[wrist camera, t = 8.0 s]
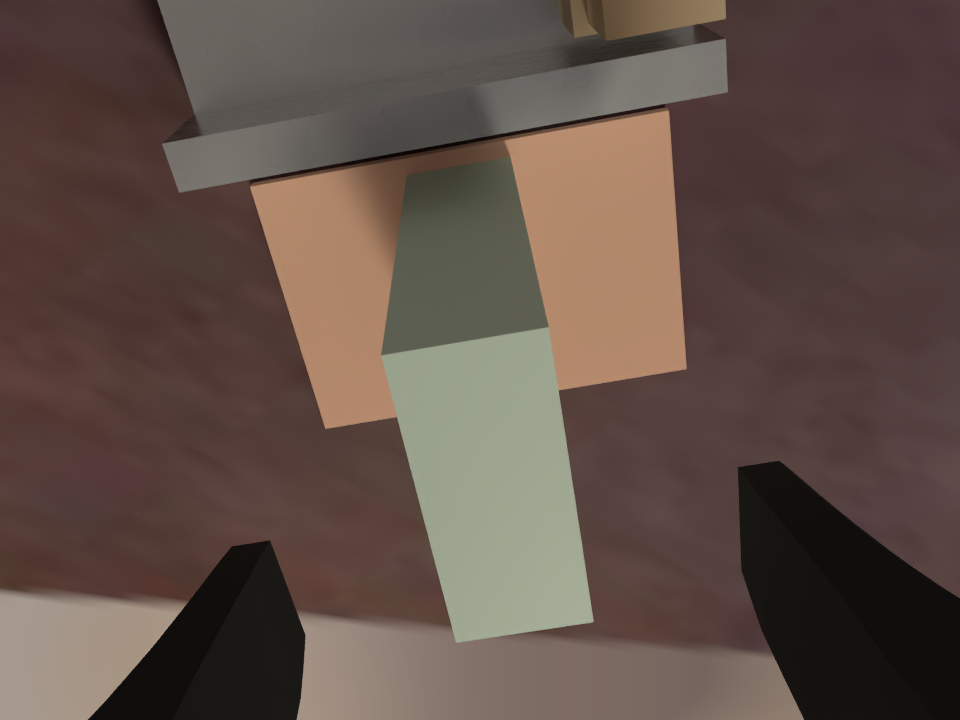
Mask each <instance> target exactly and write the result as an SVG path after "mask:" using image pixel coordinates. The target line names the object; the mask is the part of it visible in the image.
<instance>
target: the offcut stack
mask: <svg viewBox="0 0 960 720" xmlns="http://www.w3.org/2000/svg"><path fill="white" fill-rule="evenodd" d="M558 6H559V15H560V21H561V22H562V23H563V24H564V26H565V27H566V28H567V29H568V31H569V32H570V33H571V34H572V36H573V37H574V38H577V37H583V36H588V35H593V34H599V35H600V36H601V37H602V38H603V39H604V40H605V41H610V40H615V39H621V38H626V37H631V36H637V35H642V34H647V33H653V32H658V31H663V30H669V29H674V28H679V27H685V26H690V25H695V24H701V23H706V22H711V21H717V20H722V19H726V8H725V0H558Z"/></svg>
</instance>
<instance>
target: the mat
mask: <svg viewBox="0 0 960 720" xmlns="http://www.w3.org/2000/svg"><path fill="white" fill-rule="evenodd" d="M509 156H510V157H511V161H512V166H513V170H514V175H515V179H516V184H517V188H518V192H519V197H520V201H521V206H522V210H523V215H524V219H525V224H526V228H527V233H528V237H529V241H530V246H531V250H532V255H533V259H534V264H535V268H536V273H537V277H538V282H539V286H540V290H541V295H542V299H543V304H544V308H545V313H546V317H547V322H548V326H549V332H550V339H551V345H552V352H553V358H554V365H555V372H556V378H557V385H558V390H563V389H569V388H575V387H581V386H587V385H593V384H599V383H605V382H611V381H617V380H623V379H629V378H635V377H641V376H647V375H653V374H659V373H665V372H671V371H678V370H684V369H686V354H685V339H684V325H683V310H682V296H681V281H680V266H679V252H678V237H677V222H676V208H675V193H674V178H673V164H672V149H671V134H670V120H669V110H668V109H667V108H660V109H655V110H649V111H644V112H638V113H633V114H627V115H622V116H616V117H611V118H605V119H600V120H594V121H589V122H583V123H578V124H572V125H567V126H562V127H556V128H551V129H545V130H540V131H534V132H529V133H523V134H518V135H512V136H507V137H501V138H496V139H490V140H485V141H479V142H474V143H468V144H463V145H457V146H452V147H446V148H441V149H435V150H430V151H424V152H419V153H414V154H408V155H403V156H397V157H392V158H386V159H381V160H375V161H370V162H364V163H359V164H353V165H348V166H342V167H337V168H331V169H326V170H320V171H315V172H309V173H304V174H298V175H293V176H287V177H282V178H276V179H271V180H265V181H260V182H255V183H252V184H251V186H250V188H251V191H252V194H253V198H254V201H255V204H256V207H257V210H258V214H259V217H260V220H261V223H262V227H263V230H264V233H265V236H266V239H267V243H268V246H269V249H270V252H271V255H272V259H273V262H274V265H275V268H276V271H277V275H278V278H279V281H280V284H281V287H282V291H283V294H284V297H285V300H286V303H287V307H288V310H289V313H290V316H291V320H292V323H293V326H294V329H295V332H296V336H297V339H298V342H299V345H300V348H301V352H302V355H303V358H304V361H305V364H306V368H307V371H308V374H309V377H310V380H311V384H312V387H313V390H314V393H315V396H316V400H317V403H318V406H319V409H320V412H321V416H322V419H323V422H324V425H325V429H327V428H333V427H339V426H345V425H351V424H357V423H363V422H369V421H375V420H381V419H387V418H394V417H397V415H396V411H395V407H394V403H393V399H392V395H391V392H390V388H389V384H388V380H387V376H386V372H385V369H384V365H383V361H382V357H381V353H382V346H383V338H384V331H385V324H386V317H387V310H388V303H389V296H390V289H391V282H392V275H393V268H394V261H395V254H396V247H397V240H398V233H399V226H400V219H401V212H402V204H403V197H404V190H405V183H406V176H407V175H410V174H415V173H421V172H426V171H432V170H437V169H443V168H449V167H454V166H460V165H465V164H471V163H476V162H482V161H487V160H493V159H498V158H504V157H509Z"/></svg>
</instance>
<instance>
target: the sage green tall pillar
mask: <svg viewBox="0 0 960 720" xmlns="http://www.w3.org/2000/svg"><path fill="white" fill-rule="evenodd" d="M381 357H382V361H383V365H384V369H385V372H386V376H387V380H388V384H389V388H390V392H391V395H392V399H393V403H394V407H395V411H396V415H397V418H398V422H399V426H400V430H401V434H402V438H403V441H404V445H405V449H406V453H407V457H408V460H409V464H410V468H411V472H412V476H413V480H414V483H415V487H416V491H417V495H418V499H419V503H420V506H421V510H422V514H423V518H424V522H425V525H426V529H427V533H428V537H429V541H430V545H431V548H432V552H433V556H434V560H435V564H436V568H437V571H438V575H439V579H440V583H441V587H442V590H443V594H444V598H445V602H446V606H447V610H448V613H449V617H450V621H451V625H452V629H453V633H454V636H455V640H456V642H464V641H470V640H477V639H483V638H490V637H497V636H504V635H510V634H517V633H524V632H530V631H537V630H544V629H550V628H557V627H564V626H570V625H577V624H584V623H590V622H594V621H593V615H592V608H591V602H590V595H589V589H588V582H587V575H586V569H585V562H584V556H583V549H582V543H581V536H580V529H579V523H578V516H577V510H576V503H575V497H574V490H573V483H572V477H571V470H570V464H569V457H568V450H567V444H566V437H565V431H564V424H563V418H562V411H561V404H560V398H559V391H558V385H557V378H556V372H555V365H554V358H553V352H552V345H551V339H550V332H549V326H548V322H547V317H546V313H545V308H544V304H543V299H542V295H541V290H540V286H539V282H538V277H537V273H536V268H535V264H534V259H533V255H532V250H531V246H530V241H529V237H528V233H527V228H526V224H525V219H524V215H523V210H522V206H521V201H520V197H519V192H518V188H517V184H516V179H515V175H514V170H513V166H512V161H511V157H510V156H509V157H504V158H498V159H493V160H487V161H482V162H476V163H471V164H465V165H460V166H454V167H449V168H443V169H437V170H432V171H426V172H421V173H415V174H410V175H407V176H406V183H405V190H404V197H403V204H402V212H401V219H400V226H399V233H398V240H397V247H396V254H395V261H394V268H393V275H392V282H391V289H390V296H389V303H388V310H387V317H386V324H385V331H384V338H383V346H382V353H381Z"/></svg>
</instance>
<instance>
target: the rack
mask: <svg viewBox="0 0 960 720" xmlns="http://www.w3.org/2000/svg"><path fill="white" fill-rule="evenodd" d="M157 1H158V4H159V7H160V10H161V13H162V16H163V19H164V22H165V25H166V28H167V31H168V34H169V37H170V40H171V43H172V46H173V50H174V53H175V56H176V59H177V62H178V65H179V68H180V71H181V74H182V77H183V80H184V83H185V86H186V89H187V92H188V95H189V98H190V101H191V104H192V107H193V110H194V113H195V114H194V115H193V116H192V117H191V118H189V119H188V120H187V121H186V122H185V123H184V124H183V125H182V126H181V127H180V128H179V129H177V130H176V131H175V132H174V133H173V134H172V135H171V136H170V137H169V138H168V139H167V140H165V141H164V142H163V143H162V145H163V148H164V151H165V153H166V156H167V159H168V162H169V165H170V168H171V170H172V173H173V176H174V179H175V182H176V185H177V187H178V190H179V192H185V191H190V190H196V189H201V188H207V187H212V186H217V185H223V184H228V183H234V182H239V181H245V180H250V179H256V178H261V177H267V176H272V175H278V174H283V173H289V172H294V171H300V170H305V169H311V168H316V167H322V166H327V165H332V164H338V163H343V162H349V161H354V160H360V159H365V158H371V157H376V156H382V155H387V154H393V153H398V152H404V151H409V150H415V149H420V148H426V147H431V146H436V145H442V144H447V143H453V142H458V141H464V140H469V139H475V138H480V137H486V136H491V135H497V134H502V133H508V132H513V131H519V130H524V129H530V128H535V127H541V126H546V125H551V124H557V123H562V122H568V121H573V120H579V119H584V118H590V117H595V116H601V115H606V114H612V113H617V112H623V111H628V110H634V109H639V108H645V107H650V106H655V105H661V104H666V103H672V102H677V101H683V100H688V99H694V98H699V97H705V96H710V95H716V94H721V93H727V92H728V89H727V61H726V39H725V38H723V37H722V36H720V35H718V34H716V33H715V32H713V31H711V30H709V29H708V28H706V27H704V26H702V25H701V24H695V25H690V26H685V27H679V28H674V29H669V30H663V31H658V32H653V33H647V34H642V35H637V36H631V37H626V38H621V39H615V40H610V41H605V40H604V39H603V38H602V37H601V36H600V35H599V34H593V35H588V36H583V37H577V38H574V37H573V36H572V34H571V33H570V32H569V31H568V29H567V28H566V27H565V26H564V24H563V23H562V22H561V21H560V15H559V6H558V0H157Z"/></svg>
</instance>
